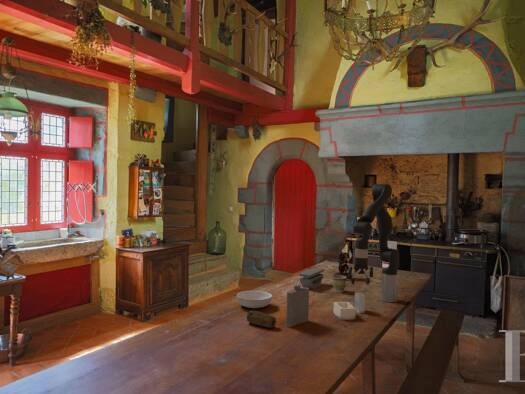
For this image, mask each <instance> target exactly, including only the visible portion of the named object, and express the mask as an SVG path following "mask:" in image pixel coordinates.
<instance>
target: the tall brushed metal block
mask: <svg viewBox="0 0 525 394" xmlns="http://www.w3.org/2000/svg"><path fill="white" fill-rule="evenodd" d="M353 307H354V308H356V311H355V312H357V313H358V314H365V313H366V295H365V294H364V293H362V292H361V291H359V292H358V291H357V292H356V291H355V292H354V306H353Z"/></svg>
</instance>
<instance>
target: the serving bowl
mask: <svg viewBox="0 0 525 394" xmlns="http://www.w3.org/2000/svg"><path fill="white" fill-rule="evenodd" d="M236 299H237V302H238V303H239V304H240V306H243V307H245V308H249V309H261V308H264V307H267V306H268V305H269V304H270V303H271V301H272V299H273V294H272V293H270V292H267V291H262V290H243V291H239V292H238V293H237V294H236Z"/></svg>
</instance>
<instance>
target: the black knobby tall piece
mask: <svg viewBox="0 0 525 394" xmlns="http://www.w3.org/2000/svg"><path fill="white" fill-rule="evenodd" d="M349 258H350V254H349V252H346V251H345V252H343V253H339V255H338V259H339V261H338V262H339V263H338V268H337V269H338V271H337V272H335V273H333V276H334V275H341V276H346V277H347V279H351V277H349V276H348V270H349V265H348V262H349V261H348V259H349Z"/></svg>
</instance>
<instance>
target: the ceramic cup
mask: <svg viewBox="0 0 525 394" xmlns="http://www.w3.org/2000/svg"><path fill="white" fill-rule="evenodd" d="M331 281H332V289H333V292H335V293H344V292H345V288H346V286H348V285H349V284H350V283H351V278H347V277H346V276H341V275H334V274H333V275H331ZM347 281H349V282H348V283H347ZM346 283H347V284H346Z"/></svg>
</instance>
